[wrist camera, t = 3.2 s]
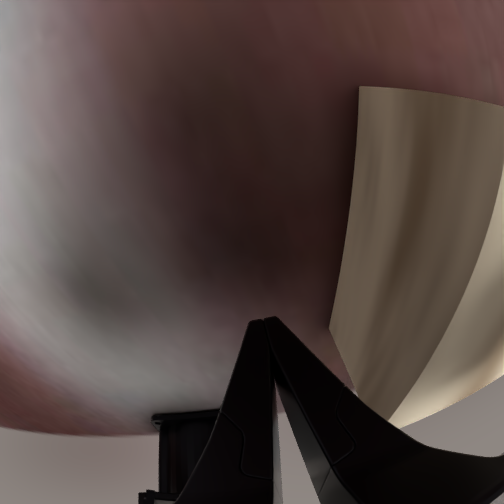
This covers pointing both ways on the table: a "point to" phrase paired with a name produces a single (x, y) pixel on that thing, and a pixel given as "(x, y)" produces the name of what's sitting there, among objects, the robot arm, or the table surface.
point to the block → (423, 253)
